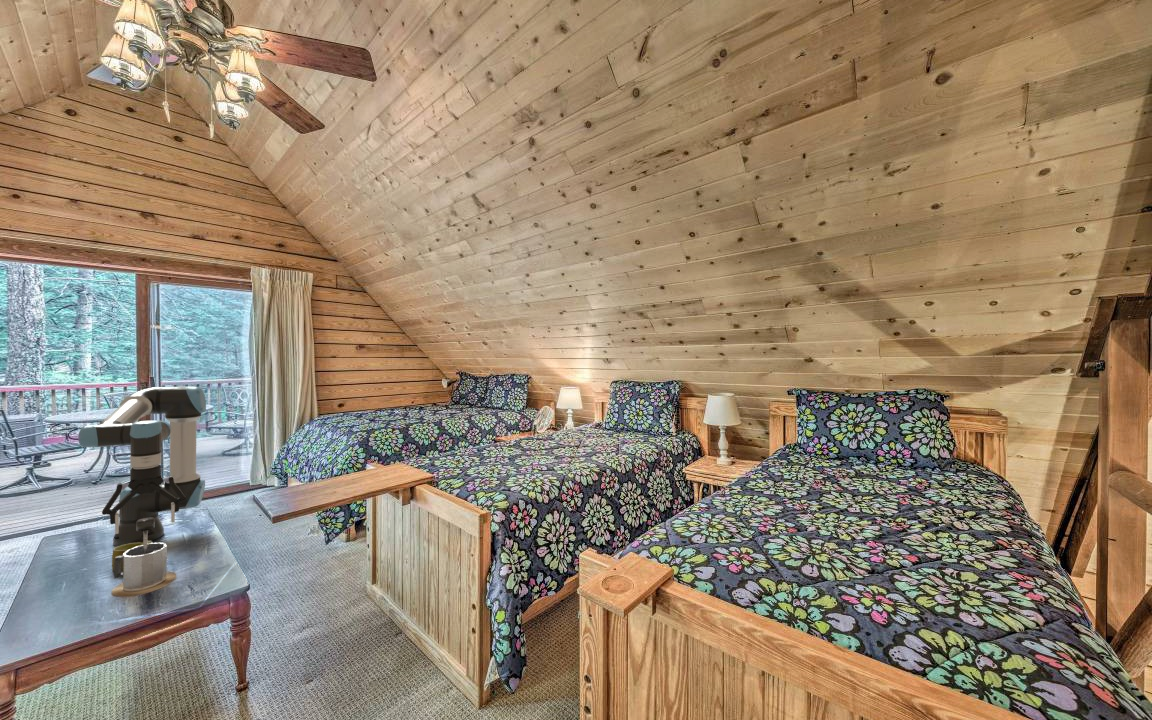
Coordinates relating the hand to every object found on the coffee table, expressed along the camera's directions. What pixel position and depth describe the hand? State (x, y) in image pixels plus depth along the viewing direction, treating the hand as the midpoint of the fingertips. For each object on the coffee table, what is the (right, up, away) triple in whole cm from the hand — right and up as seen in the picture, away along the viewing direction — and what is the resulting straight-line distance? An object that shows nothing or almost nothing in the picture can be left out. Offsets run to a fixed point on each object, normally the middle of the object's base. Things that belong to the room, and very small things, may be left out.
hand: (145, 526), depth 147 cm
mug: (-17, -20, +13) cm, 29 cm away
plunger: (0, -17, 0) cm, 17 cm away
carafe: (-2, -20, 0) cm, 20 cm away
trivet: (0, -20, 0) cm, 20 cm away
